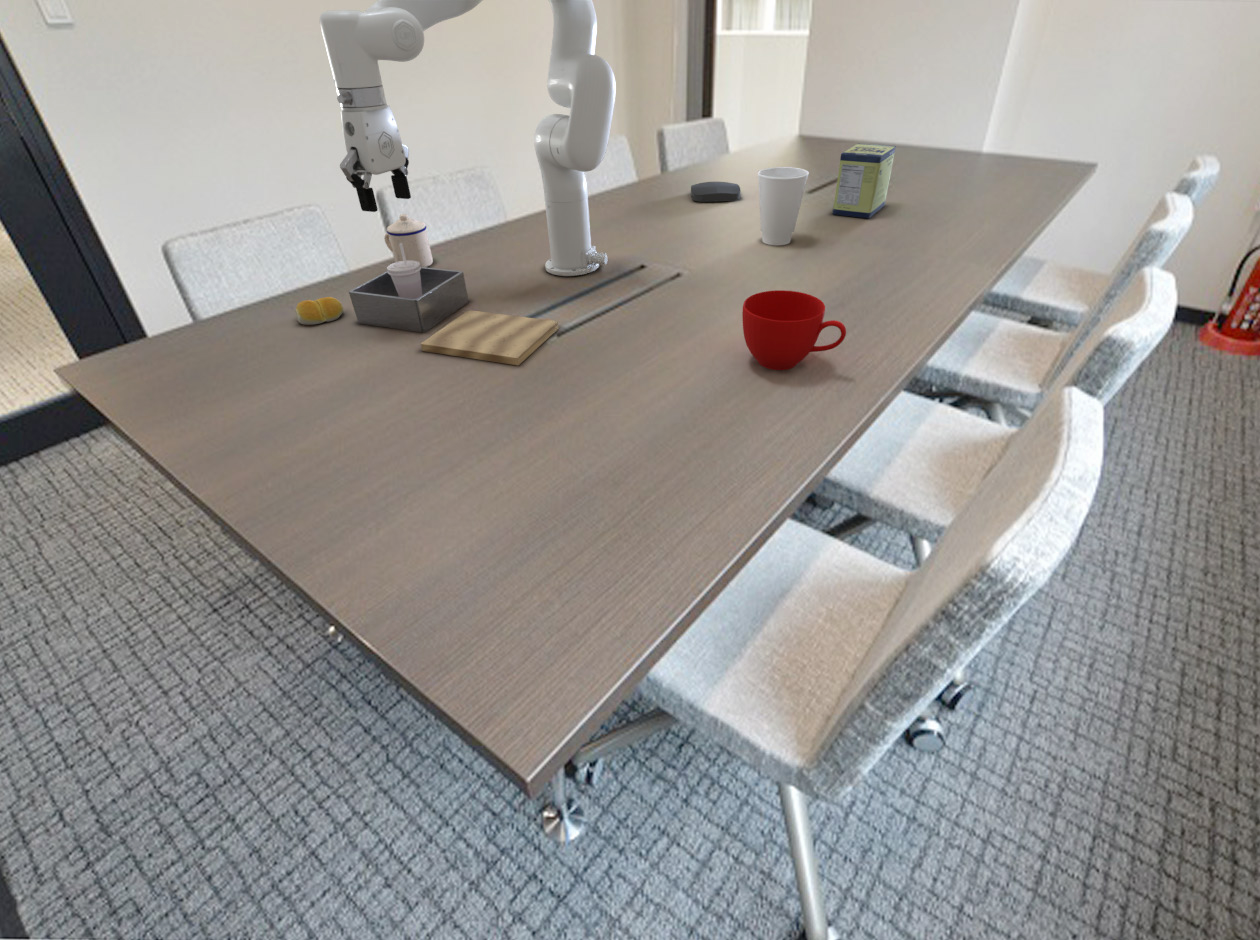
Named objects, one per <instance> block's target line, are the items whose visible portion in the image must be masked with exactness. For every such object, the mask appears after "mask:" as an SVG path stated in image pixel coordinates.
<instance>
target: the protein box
mask: <svg viewBox="0 0 1260 940" xmlns="http://www.w3.org/2000/svg"><path fill="white" fill-rule="evenodd" d="M895 152H896V145H884V144H871V143H856V144H854V146H852V147H849V149H847V150H845V151H843V152H841V153H840V158H839V165H838V166H839V167H838V173H837V180H836V187H835V193H834V202H833V206H832V207H833V208H832V215H834V216H835V215H836V216H844V217H851V218H852V217H853V218H861V219H869V220H870V219H871V218H873V216H874V215H875V214H876V213H878V212H879V211H880V210H882V208H883V207H885V204H886V199H887V195H888V189H889V184H890V179H891V175H892V174H891V173H892V168H893V163H894V158H895Z"/></svg>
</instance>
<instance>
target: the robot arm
mask: <svg viewBox="0 0 1260 940" xmlns="http://www.w3.org/2000/svg"><path fill="white" fill-rule="evenodd" d="M483 1H484V0H376V1H375V2H374V3H373V4H372V5H370V6H369V7H368V8H367V9H366V10H365V11H360V10H357V9H339V10H336V9H334V10H326V11H323V12H322V13H321V14H320V15H319V24H320V25H319V26H320V30H321V34H322V38H323V42H324V46H325V50H326V53H327V54H326V55H327V58H328V61H329V66H330V69H331V75H332V78H333V82H334V85H335V89H336V94H337V98H336V99H337V102H338V103H339V105H340V109H341V111H340V118H341V128H342V134H343V141H344V146H345V150H346V155H345V156H344V158H343V159H342V160H341V162H340V164H339V168H340V170H341V172H342V173H343V175H344V176H345V179H346V180H347V182H349V183H350V184H351V186H352V188H354V189H355V190H356V194H357V198H358V201H359V205H360V209H361V211H362V212H369V213H376V212H378V205H377V200H376V197H375V192H374V189H373V187H370V185H371V181H372V176H373V175H374V176H379V175H382V174H386V173H388V172H391V174H392V175H390V178H391V183H392V188H393V193H394V196H395V198H396V199H403V200H410V199H411V198H412V195H411V191H410V186H409V180H408V175H409V170H408V167H409V164H410V161H409V152H410V149H409V147H408V146H407V145H405V144H404V143H403V142H402V138H401V133H400V131H399V127H398V124H397V121H396V119H395V116H394V113H393V111H392V109H391V107H390V105H388V104H387V98H386V94H385V90H384V86H383V81H382V77H381V71H380V67H379V66H380V65H379V61H390V62H400V63H406V62H410V61H412V60H414V59H416V58H417V57H419V56H420V54H421V53H422V51H423V48H424V45H425V33H424V32H425V31H426V30H428V29H430V28H432V27H433V26H435V25H437V24H439V23H441V22H445V21H447V20H451V19H454V18H458V17H460V16H463V15H464V14H466V13H468V12H470V11H472V10H473V9H475V8H476V7H477V6H478V5H479V4H480V3H482V2H483ZM548 2H549V5H550V9H551V11H552V18H553V28H552V29H553V30H552V39H551V49H550V55H549V56H550V57H549V63H548V72H547V81H546V82H547V85H546V86H547V92H548V95H549V97H550V99H551V100H552V101H553V102H554V103H555V104H557V105H558V106H560V107H563V108H568V109H570V110H569V115H568V114H561V113H553V114H548V115H547V116H545V117H544V118H542V119H541V120H540V121H539V122H538V124H537V125H536V127H535V129H534V136H533V143H534V151H535V155H536V159H537V162H538V166H539V170H540V174H541V180H542V187H543V196H544V197H543V198H544V207H545V215H546V225H547V235H548V241H549V252H550V258H549V259H548V260H546V262H545V263H544V267H545V271H546V272H548V273H549V274H551V275H555V276H558V277H559V276H560V277H577V276H583V275H587V274H590V273H592V272H595V271H596V270H597V269H598V268H599V267H600V265H605V266H606V265H607V264H608V259H609V258H608V255H607V253H606V252H597V249H596V245H592V237H591V224H590V210H589V194H588V193H589V191H588V185H587V184H588V183H587V178H586V174H585V172H591V171H593V170H595V169H596V168H598V167H599V166H600V165H601V163H602V162H603V159H604V158H605V155H606V152H607V149H608V143H609V139H610V133H611V126H612V122H613V116H614V115H613V114H614V109H615V103H616V96H617V95H616V94H617V85H616V77H615V73H614V71H613V68H612V66H611V65H610V64H609V62H608V61H607V60H606V59H604V58H603V57H601V56H599V55H596V54H595V53H596V44H597V43H596V42H597V35H598V18H597V13H596V7H595V5H594V1H593V0H548ZM362 176H363V177H362Z"/></svg>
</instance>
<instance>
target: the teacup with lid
mask: <svg viewBox="0 0 1260 940" xmlns="http://www.w3.org/2000/svg"><path fill="white" fill-rule="evenodd" d="M398 218H399V219H397V220H395V221H394V223H392V224H389V225H388V226H387V228H386V233H385V234H384V235H383V237H384V243H385V245H386V247H387V248H388V250H389V251H391V252H392V253H393V257H394V261H395V262H399V261H403V258H402V254H401V250H400V246H399V243H402V245H403V250H404V254H405V258H406V261H407V260H412V261H417V262H419V263H420V267H427V268H429V267H430V266H432V264H433V262H434V260H433V255H432V250H431V246H430V242H429V237H428V232H427V225H426V223H425V222H423V221H421V220H415V219H414V218H410V217H409V215H408V214H407V213H403V214H400V215H399V217H398Z"/></svg>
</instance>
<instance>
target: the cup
mask: <svg viewBox="0 0 1260 940" xmlns="http://www.w3.org/2000/svg"><path fill="white" fill-rule="evenodd" d="M809 174H810V172H809V171H808V170H807V169H804V168H800V167H791V166H773V167H767V168H763V169H760V170H758V171H757V182H758V185H757V186H758V199H759V200H758V202H759V222H760V232H761V240H762V243H764V244H766V245H769V246H785V245H788V244H790V243H791V240H792V236H793V233H794V232H795V228H796V224H797V221H798V217H799V212H800V209H801V205H802V200H803V196H804V193H805V188H806V184H807V180H808V177H809V176H810V175H809Z"/></svg>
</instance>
